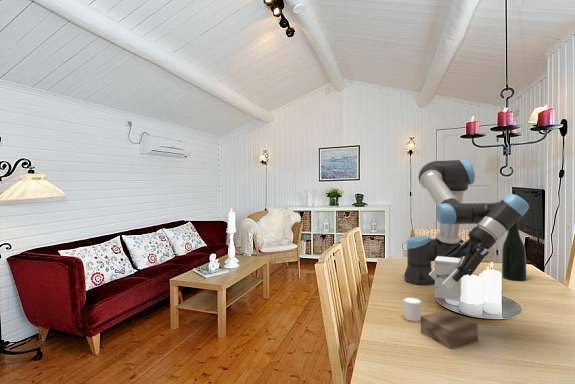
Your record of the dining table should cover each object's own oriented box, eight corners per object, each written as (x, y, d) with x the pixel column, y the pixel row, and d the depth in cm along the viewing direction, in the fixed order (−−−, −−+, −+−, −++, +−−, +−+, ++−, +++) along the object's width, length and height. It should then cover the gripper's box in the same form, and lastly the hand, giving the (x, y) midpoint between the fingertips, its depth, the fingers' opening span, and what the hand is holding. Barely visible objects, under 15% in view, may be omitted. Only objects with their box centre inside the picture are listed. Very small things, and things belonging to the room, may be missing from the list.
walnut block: (420, 333, 107) (420, 316, 107) (446, 326, 111) (445, 310, 111) (451, 350, 96) (450, 331, 96) (477, 341, 100) (477, 323, 100)
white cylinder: (421, 315, 121) (421, 297, 121) (423, 323, 114) (422, 304, 114) (402, 313, 123) (402, 296, 123) (403, 321, 116) (402, 302, 116)
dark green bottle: (531, 281, 158) (530, 217, 158) (508, 281, 160) (507, 217, 159) (519, 275, 168) (518, 215, 168) (498, 275, 170) (497, 215, 170)
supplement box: (434, 297, 102) (433, 259, 102) (437, 291, 109) (436, 255, 108) (459, 301, 98) (458, 262, 98) (461, 294, 104) (460, 257, 104)
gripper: (517, 248, 91) (464, 301, 92) (475, 236, 114) (432, 279, 115) (499, 230, 91) (445, 284, 92) (460, 222, 114) (417, 265, 115)
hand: (438, 281), depth 103 cm, fingers closed on supplement box, 10 cm apart
